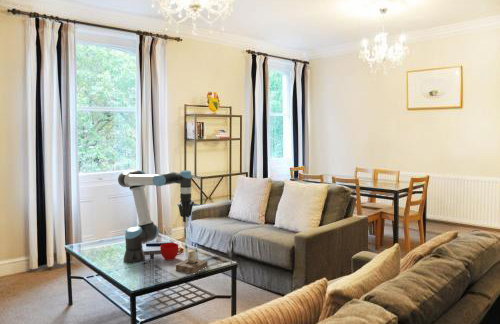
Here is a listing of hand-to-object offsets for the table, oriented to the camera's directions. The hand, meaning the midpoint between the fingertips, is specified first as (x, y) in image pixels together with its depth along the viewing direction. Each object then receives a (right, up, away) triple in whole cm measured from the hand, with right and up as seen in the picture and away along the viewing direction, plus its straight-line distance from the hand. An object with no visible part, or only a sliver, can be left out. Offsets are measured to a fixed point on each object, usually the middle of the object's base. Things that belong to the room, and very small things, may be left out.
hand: (185, 226), depth 295 cm
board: (+5, -28, -7) cm, 29 cm away
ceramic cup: (-12, -26, +13) cm, 31 cm away
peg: (+5, -28, -7) cm, 29 cm away
